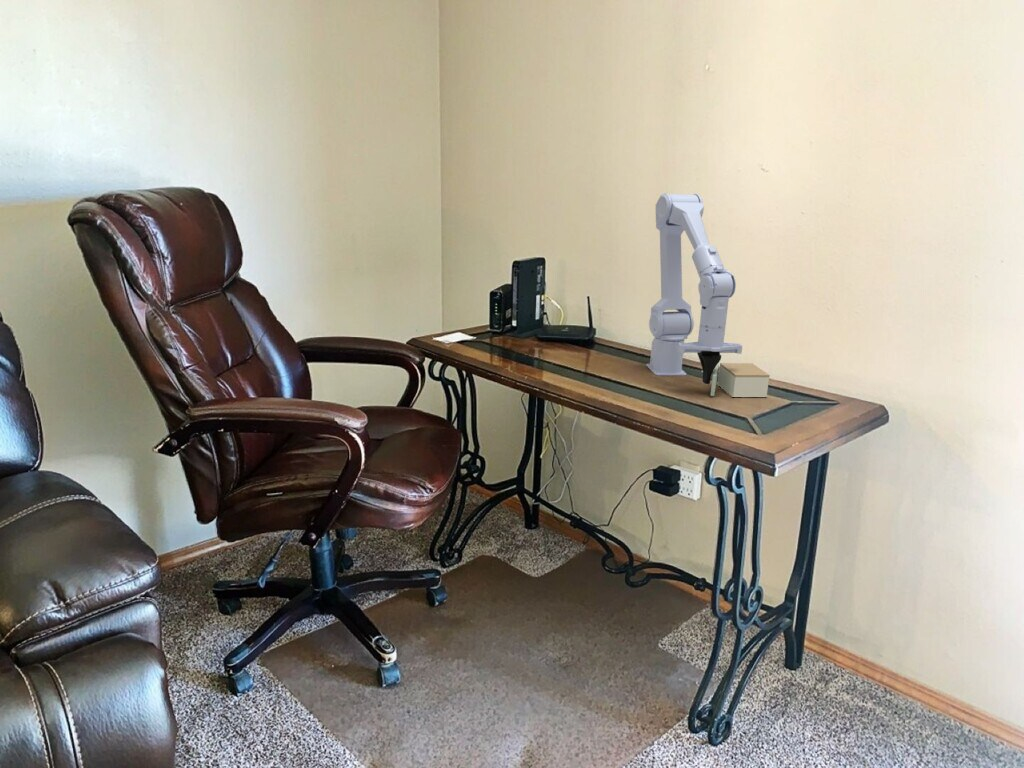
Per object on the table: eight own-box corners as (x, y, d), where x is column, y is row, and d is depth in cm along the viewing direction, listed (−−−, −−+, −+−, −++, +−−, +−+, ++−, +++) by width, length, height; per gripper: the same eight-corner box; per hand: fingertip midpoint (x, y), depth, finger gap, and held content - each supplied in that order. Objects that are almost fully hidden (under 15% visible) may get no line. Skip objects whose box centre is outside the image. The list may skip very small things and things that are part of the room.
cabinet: (717, 385, 190) (720, 363, 189) (749, 385, 191) (752, 363, 190) (733, 398, 181) (735, 375, 179) (766, 398, 182) (769, 375, 180)
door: (713, 382, 191) (715, 363, 189) (717, 383, 190) (719, 364, 189) (709, 395, 181) (712, 375, 179) (714, 396, 180) (716, 376, 179)
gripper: (687, 329, 175) (681, 387, 179) (750, 329, 176) (742, 387, 180) (677, 322, 181) (672, 378, 185) (738, 323, 183) (731, 379, 187)
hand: (706, 382), depth 183 cm, fingers closed
